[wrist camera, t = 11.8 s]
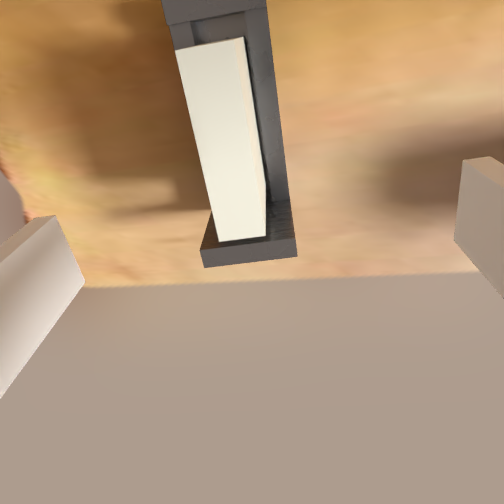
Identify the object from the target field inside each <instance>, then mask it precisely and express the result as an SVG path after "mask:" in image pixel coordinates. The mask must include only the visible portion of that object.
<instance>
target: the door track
mask: <svg viewBox="0 0 504 504" xmlns="http://www.w3.org/2000/svg"><path fill="white" fill-rule="evenodd" d="M161 2H162V7H163V11H164V15H165V19H166V24H167V25H169V28H170V33H171V37H172V41H173V45H174V50H179V49H184V48H188V47H192V46H197V45H201V44H205V43H211V42H216V41H221V40H227V39H232V38H237V37H243V36H245V39H246V45H247V52H248V59H249V65H250V72H251V79H252V86H253V92H254V99H255V106H256V112H257V119H258V126H259V133H260V139H261V146H262V153H263V159H264V166H265V173H266V236H260V237H252V238H245V239H237V240H229V241H221V242H219V239H218V235H217V230H216V226H215V222H214V217H213V213H212V211H211V214H210V218H209V221H208V224H207V228H206V231H205V234H204V238H203V241H202V244H201V248H200V253H201V257H202V261H203V265H204V268H208V267H216V266H225V265H233V264H241V263H249V262H257V261H266V260H274V259H282V258H290V257H297V248H296V240H295V233H294V225H293V218H292V211H291V204H290V196H289V188H288V180H287V172H286V163H285V155H284V147H283V139H282V130H281V122H280V114H279V105H278V97H277V89H276V81H275V72H274V64H273V56H272V47H271V39H270V31H269V23H268V14H267V6H266V0H161ZM175 54H176V53H175ZM177 63H178V62H177ZM178 67H179V66H178ZM180 76H181V75H180ZM181 80H182V79H181ZM183 89H184V88H183ZM184 93H185V92H184ZM186 102H187V101H186ZM187 106H188V105H187ZM190 119H191V118H190ZM193 132H194V131H193ZM194 136H195V135H194ZM196 145H197V144H196ZM197 149H198V148H197ZM199 158H200V157H199ZM200 162H201V161H200ZM202 171H203V170H202ZM203 175H204V174H203ZM206 188H207V187H206ZM209 201H210V200H209ZM210 205H211V204H210Z"/></svg>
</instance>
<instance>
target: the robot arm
mask: <svg viewBox="0 0 504 504" xmlns="http://www.w3.org/2000/svg"><path fill="white" fill-rule="evenodd" d="M454 241H455V243H456V244H457V245H458V246H459V247H460V248H461V250H462V251H463V252H464V253H465V254H466V255H467V257H468V258H469V259H470V260H471V261H472V262H473V264H474V265H475V266H476V267H477V268H478V269H479V271H480V272H481V273H482V274H483V275H484V276H485V278H487V280H488V281H489V282H490V283H491V284H492V286H493V287H494V288H495V289H496V290H497V292H498V293H499V294H500V295H501V296H502V297H503V299H504V164H502V163H501V162H499V161H497V160H496V159H494V158H492V157H491V156H488V157H480V158H473V159H466V160H463V163H462V172H461V181H460V189H459V198H458V207H457V215H456V224H455V233H454ZM84 283H85V280H84V277H83V275H82V273H81V271H80V269H79V266H78V264H77V262H76V260H75V257H74V255H73V253H72V251H71V249H70V246H69V244H68V242H67V240H66V238H65V235H64V233H63V231H62V229H61V227H60V224H59V222H58V220H57V218H56V216H55V215H53V216H46V217H38V218H34V219H33V220H31V221H30V222H29V223H28V224H26V225H25V226H24V227H23V228H21V229H20V230H19V231H18V232H17V233H15V234H14V235H13V236H12V237H10V238H9V239H8V240H7V241H6V242H4V243H3V244H2V245H1V246H0V398H1V397H2V396H3V394H4V393H5V392H6V390H7V389H8V387H9V386H10V385H11V383H12V382H13V381H14V379H15V378H16V376H17V375H18V374H19V372H20V371H21V370H22V368H23V367H24V366H25V364H26V363H27V361H28V360H29V359H30V357H31V356H32V354H33V353H34V352H35V350H36V349H37V348H38V346H39V345H40V344H41V342H42V341H43V339H44V338H45V337H46V335H47V334H48V333H49V331H50V330H51V329H52V327H53V326H54V324H55V323H56V322H57V320H58V319H59V317H60V316H61V315H62V313H63V312H64V311H65V309H66V308H67V307H68V305H69V304H70V302H71V301H72V299H73V298H74V297H75V296H76V294H77V293H78V291H79V290H80V289H81V287H82V286H83V285H84Z"/></svg>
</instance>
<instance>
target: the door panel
mask: <svg viewBox="0 0 504 504" xmlns="http://www.w3.org/2000/svg"><path fill="white" fill-rule="evenodd" d="M175 53H176V58H177V62H178V66H179V71H180V75H181V79H182V84H183V88H184V92H185V97H186V101H187V105H188V110H189V114H190V118H191V123H192V127H193V131H194V135H195V140H196V144H197V148H198V153H199V157H200V161H201V166H202V170H203V174H204V179H205V183H206V187H207V192H208V196H209V200H210V204H211V209H212V213H213V217H214V222H215V226H216V230H217V235H218V239H219V242H221V241H229V240H237V239H245V238H252V237H260V236H266V173H265V166H264V159H263V153H262V146H261V139H260V133H259V126H258V119H257V112H256V106H255V99H254V92H253V86H252V79H251V72H250V65H249V59H248V52H247V45H246V39H245V36H243V37H237V38H232V39H227V40H221V41H216V42H211V43H205V44H201V45H197V46H192V47H188V48H184V49H179V50H175Z"/></svg>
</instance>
